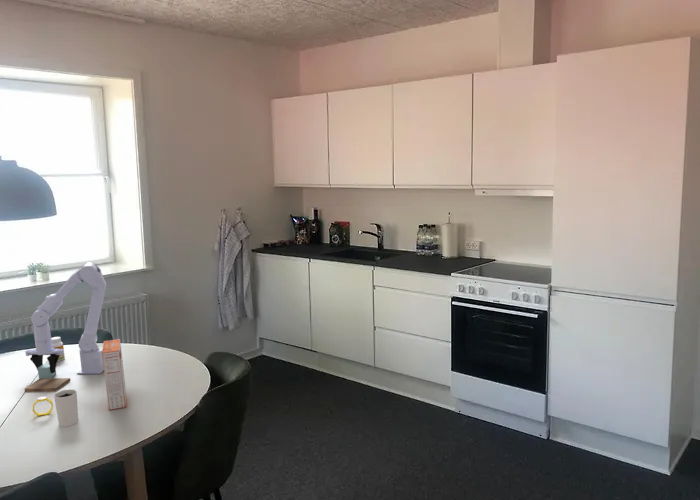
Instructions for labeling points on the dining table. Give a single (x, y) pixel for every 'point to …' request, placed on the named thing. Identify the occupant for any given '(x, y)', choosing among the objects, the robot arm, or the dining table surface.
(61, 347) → the supplement bottle
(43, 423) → the dining table surface
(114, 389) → the cracker box
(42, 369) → the teal cube
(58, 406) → the white cup
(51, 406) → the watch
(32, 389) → the walnut board
